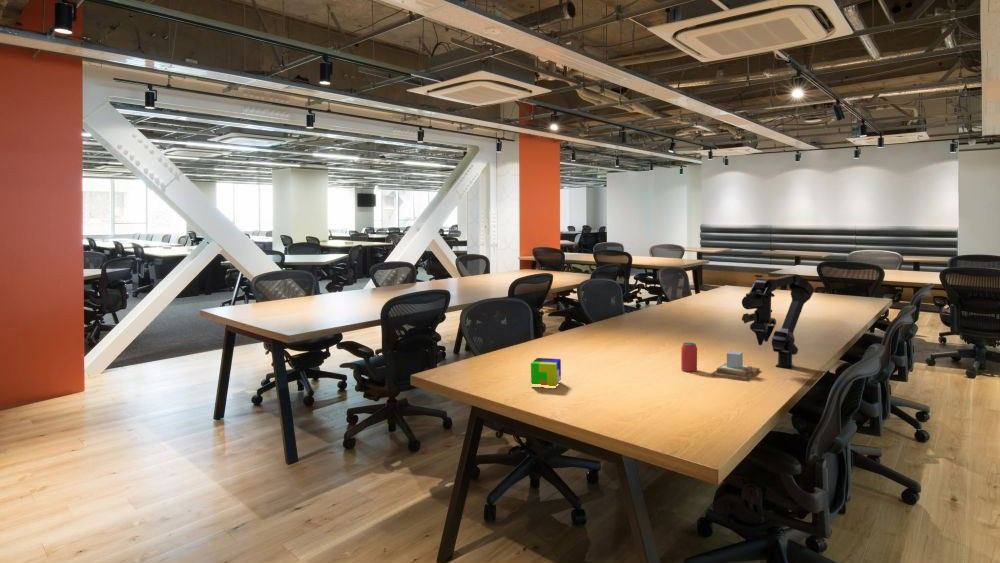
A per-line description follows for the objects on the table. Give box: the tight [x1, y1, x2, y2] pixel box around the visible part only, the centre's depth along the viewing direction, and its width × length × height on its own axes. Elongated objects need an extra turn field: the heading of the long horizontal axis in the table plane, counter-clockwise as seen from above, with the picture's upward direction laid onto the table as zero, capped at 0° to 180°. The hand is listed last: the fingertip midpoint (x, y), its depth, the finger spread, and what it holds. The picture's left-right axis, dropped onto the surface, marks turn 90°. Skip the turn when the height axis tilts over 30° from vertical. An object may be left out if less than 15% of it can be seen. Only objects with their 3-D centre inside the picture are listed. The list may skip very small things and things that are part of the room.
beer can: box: [680, 342, 698, 373], centre depth 250 cm, size 7×7×12 cm
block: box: [726, 350, 744, 369], centre depth 242 cm, size 5×5×6 cm
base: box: [710, 362, 760, 382], centre depth 243 cm, size 20×14×3 cm
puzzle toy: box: [530, 357, 562, 386], centre depth 233 cm, size 10×10×10 cm
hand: (763, 343), depth 246 cm, fingers open, 9 cm apart
